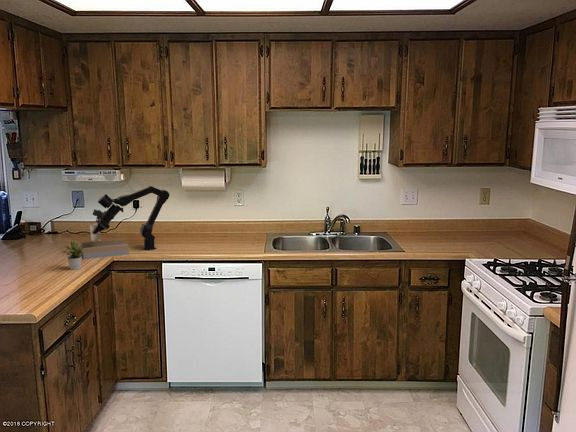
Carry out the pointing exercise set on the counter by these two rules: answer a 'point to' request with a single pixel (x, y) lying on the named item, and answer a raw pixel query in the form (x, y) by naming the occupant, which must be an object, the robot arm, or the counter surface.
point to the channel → (104, 248)
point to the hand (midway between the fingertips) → (92, 232)
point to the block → (94, 236)
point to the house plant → (74, 256)
